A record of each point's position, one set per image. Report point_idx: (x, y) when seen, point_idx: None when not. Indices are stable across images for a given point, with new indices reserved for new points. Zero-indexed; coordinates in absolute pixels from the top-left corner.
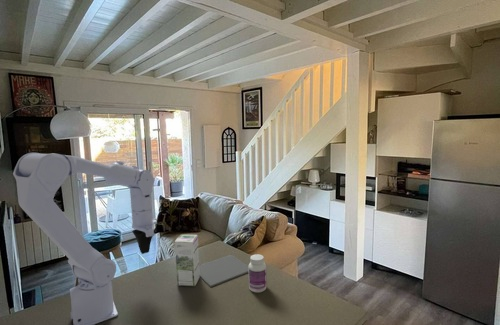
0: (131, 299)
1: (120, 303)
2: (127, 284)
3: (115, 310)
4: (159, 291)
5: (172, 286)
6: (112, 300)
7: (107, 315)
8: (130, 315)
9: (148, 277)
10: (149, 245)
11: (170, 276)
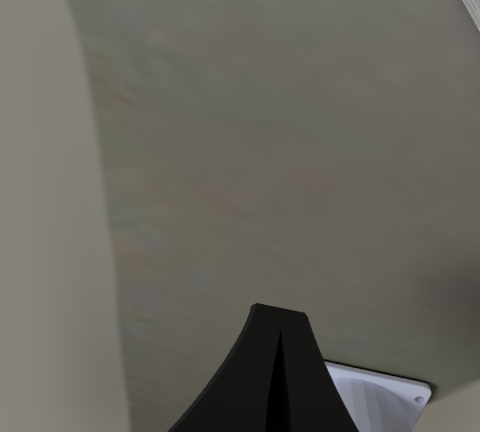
0: (358, 301)
1: (345, 341)
2: (197, 256)
3: (398, 385)
4: (428, 175)
5: (459, 84)
6: (393, 428)
7: (406, 415)
8: (477, 353)
9: (209, 141)
10: (327, 379)
11: (321, 17)
